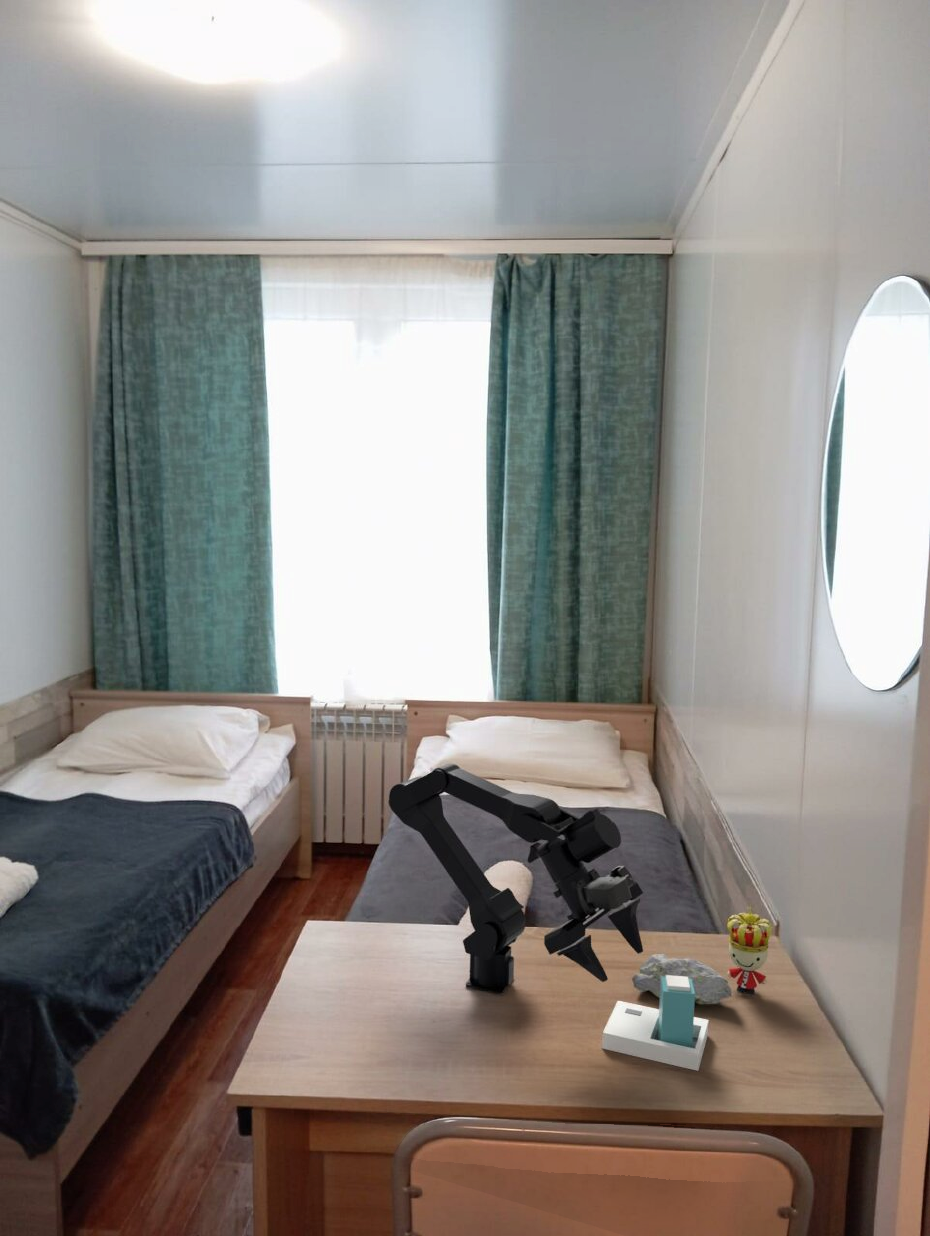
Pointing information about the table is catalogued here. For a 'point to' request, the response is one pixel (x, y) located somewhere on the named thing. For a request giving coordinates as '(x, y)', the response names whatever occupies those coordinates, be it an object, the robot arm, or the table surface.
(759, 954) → the toy
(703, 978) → the rock
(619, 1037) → the socket plate
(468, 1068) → the table surface
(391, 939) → the table surface
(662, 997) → the plug
